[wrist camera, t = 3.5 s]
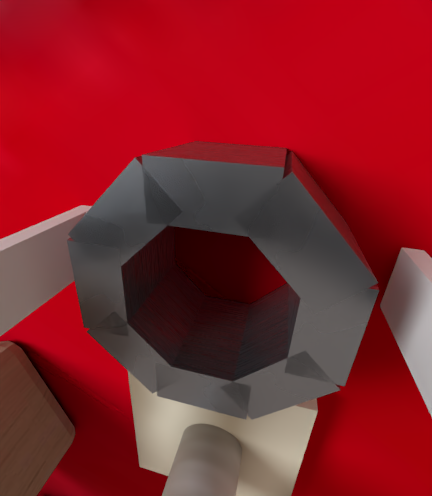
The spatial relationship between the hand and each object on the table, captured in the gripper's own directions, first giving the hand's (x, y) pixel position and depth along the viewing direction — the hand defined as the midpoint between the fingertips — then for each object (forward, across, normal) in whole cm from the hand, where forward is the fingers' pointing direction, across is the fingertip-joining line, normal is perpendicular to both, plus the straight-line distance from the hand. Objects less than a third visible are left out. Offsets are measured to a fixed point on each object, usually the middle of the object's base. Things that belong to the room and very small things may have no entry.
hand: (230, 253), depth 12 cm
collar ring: (0, 0, 0) cm, 0 cm away
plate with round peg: (0, 0, -12) cm, 12 cm away
